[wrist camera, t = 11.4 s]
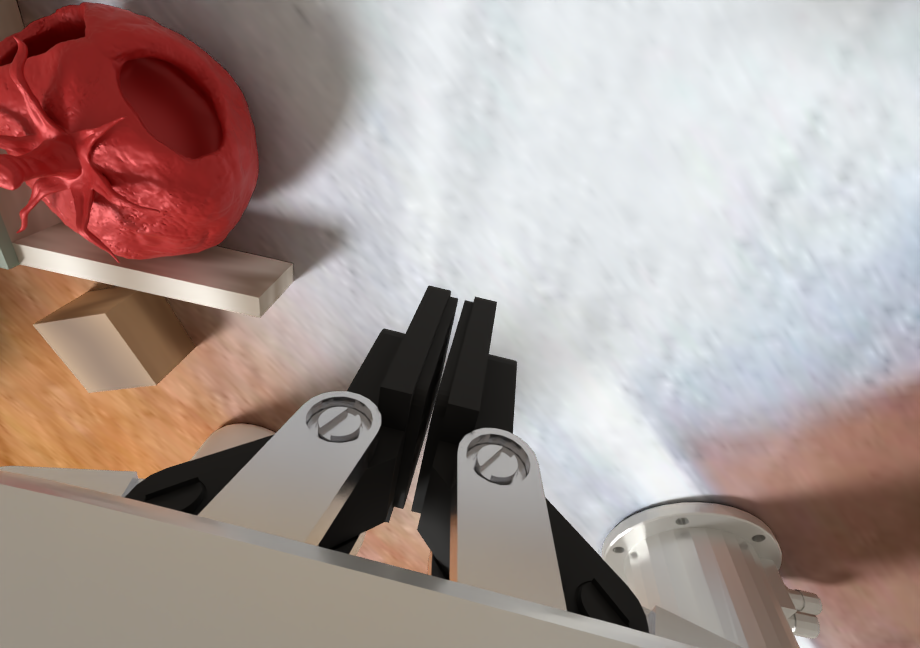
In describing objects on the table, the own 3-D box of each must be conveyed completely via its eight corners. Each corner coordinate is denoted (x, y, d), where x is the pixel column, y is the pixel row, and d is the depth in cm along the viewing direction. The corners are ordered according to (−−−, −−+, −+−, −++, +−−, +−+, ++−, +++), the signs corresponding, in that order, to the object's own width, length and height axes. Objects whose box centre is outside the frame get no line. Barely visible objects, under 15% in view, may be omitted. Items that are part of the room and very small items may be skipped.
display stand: (287, -117, 17) (218, -160, 13) (293, 281, 26) (254, 324, 23) (-71, -199, 17) (-244, -266, 13) (63, 230, 26) (-15, 264, 23)
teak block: (154, 279, 28) (104, 313, 24) (196, 346, 30) (156, 385, 27) (89, 290, 29) (32, 324, 25) (135, 354, 31) (88, 392, 28)
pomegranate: (258, 253, 26) (149, 352, 18) (79, 164, 24) (-126, 233, 17) (309, 82, 21) (184, 123, 13) (83, -49, 19) (-216, -91, 11)
